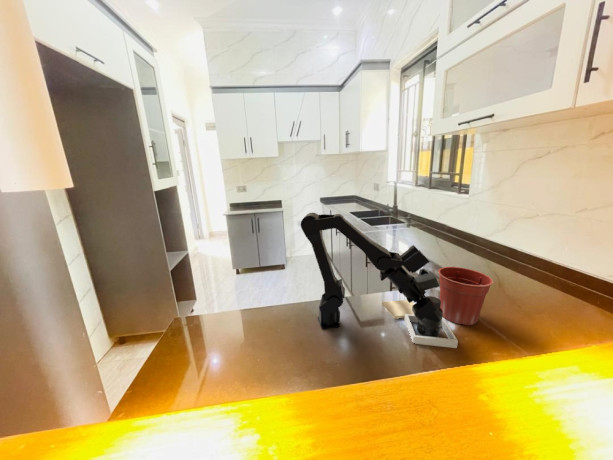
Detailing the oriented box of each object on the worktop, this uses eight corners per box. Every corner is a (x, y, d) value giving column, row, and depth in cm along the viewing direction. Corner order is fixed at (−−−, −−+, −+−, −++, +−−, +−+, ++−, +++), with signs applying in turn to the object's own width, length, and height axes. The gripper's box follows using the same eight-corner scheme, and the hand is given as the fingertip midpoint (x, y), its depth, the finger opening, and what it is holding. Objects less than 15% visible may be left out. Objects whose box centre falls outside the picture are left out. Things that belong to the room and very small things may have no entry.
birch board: (394, 319, 90) (395, 316, 90) (381, 304, 100) (382, 302, 99) (425, 316, 92) (425, 313, 92) (409, 302, 102) (409, 299, 101)
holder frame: (412, 343, 78) (413, 336, 77) (404, 319, 90) (404, 313, 89) (456, 348, 76) (458, 341, 75) (442, 323, 88) (443, 317, 87)
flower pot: (476, 308, 97) (483, 269, 94) (492, 333, 82) (501, 288, 78) (429, 301, 102) (434, 264, 98) (437, 324, 87) (443, 281, 83)
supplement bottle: (442, 340, 79) (447, 306, 76) (419, 337, 80) (423, 303, 77) (436, 327, 85) (440, 295, 82) (414, 325, 87) (418, 293, 84)
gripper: (433, 277, 69) (470, 317, 70) (416, 255, 87) (445, 287, 88) (400, 300, 72) (436, 338, 73) (390, 274, 90) (419, 305, 91)
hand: (434, 315), depth 81 cm, fingers closed on supplement bottle, 7 cm apart
